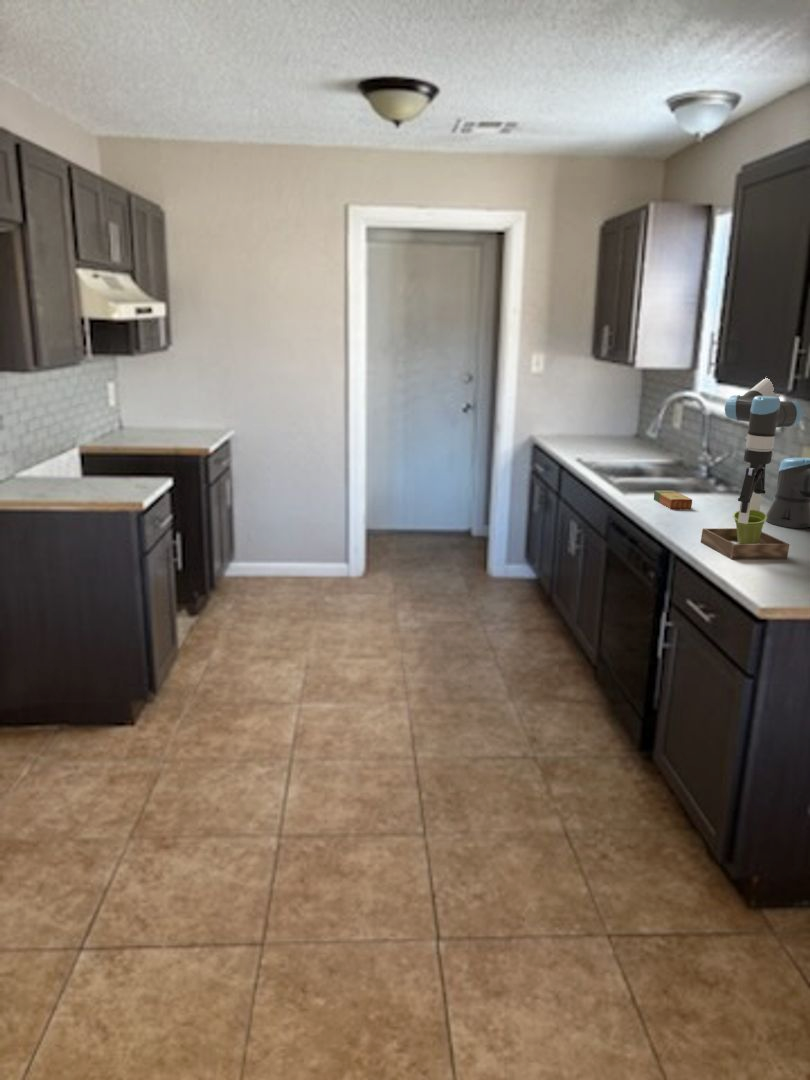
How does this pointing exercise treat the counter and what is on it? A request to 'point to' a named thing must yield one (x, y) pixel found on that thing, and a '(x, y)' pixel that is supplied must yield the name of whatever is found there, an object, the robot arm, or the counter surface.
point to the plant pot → (750, 527)
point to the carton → (672, 499)
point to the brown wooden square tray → (744, 545)
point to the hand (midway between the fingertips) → (748, 518)
